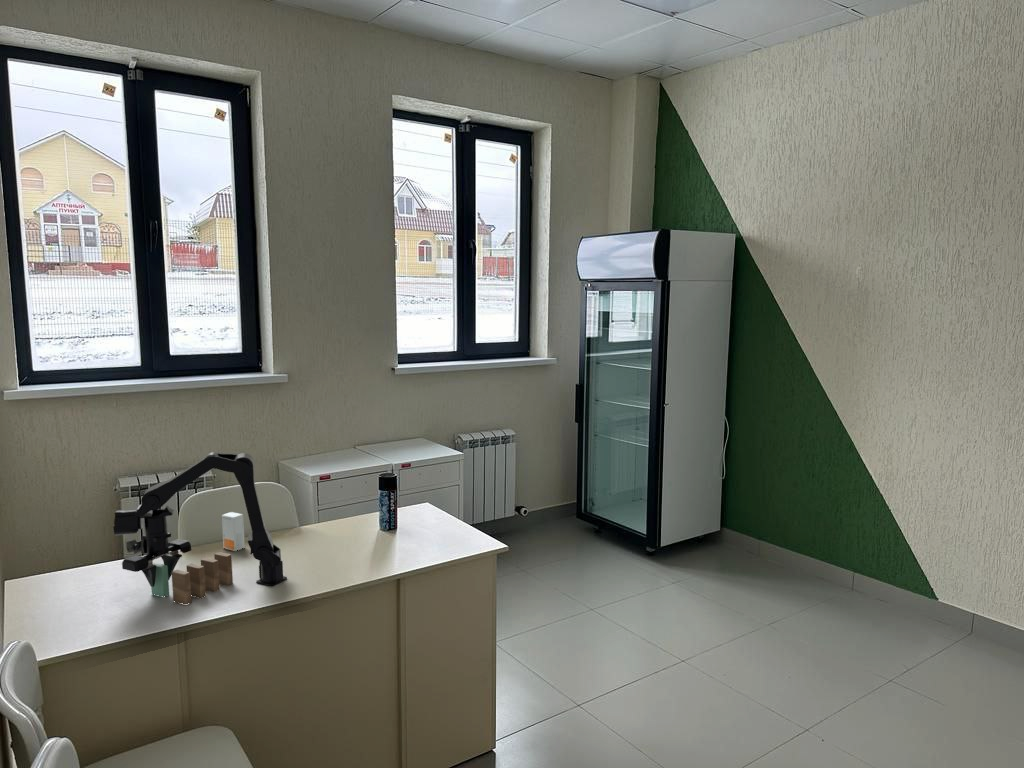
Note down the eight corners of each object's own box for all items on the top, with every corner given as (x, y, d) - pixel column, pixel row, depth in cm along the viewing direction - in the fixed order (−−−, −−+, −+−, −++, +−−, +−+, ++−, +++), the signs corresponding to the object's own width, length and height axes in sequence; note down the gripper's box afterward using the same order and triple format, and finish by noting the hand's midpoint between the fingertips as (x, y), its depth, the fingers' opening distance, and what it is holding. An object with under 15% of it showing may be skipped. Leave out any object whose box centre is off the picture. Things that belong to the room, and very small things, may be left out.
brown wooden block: (178, 599, 200) (176, 569, 199) (191, 603, 198) (189, 572, 197) (173, 602, 198) (171, 571, 197) (186, 605, 196) (184, 574, 195)
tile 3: (207, 586, 209) (205, 557, 208) (219, 589, 207) (218, 560, 206) (202, 589, 207) (200, 559, 206) (214, 591, 205) (213, 562, 204)
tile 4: (193, 593, 204) (191, 563, 203) (205, 596, 202) (204, 566, 201) (188, 595, 203) (186, 565, 202) (200, 598, 201) (199, 568, 200)
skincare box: (222, 548, 240) (220, 514, 239) (233, 544, 244) (231, 511, 242) (235, 551, 237) (233, 517, 236) (245, 547, 241) (243, 513, 239)
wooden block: (220, 580, 213) (219, 552, 212) (232, 583, 211) (231, 554, 210) (215, 582, 212) (214, 554, 211) (228, 585, 210) (226, 556, 208)
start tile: (157, 592, 205) (155, 562, 204) (169, 595, 203) (167, 565, 202) (151, 594, 203) (149, 564, 202) (164, 597, 201) (161, 567, 200)
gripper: (164, 518, 212) (168, 567, 214) (106, 537, 196) (110, 590, 198) (191, 522, 208) (194, 573, 210) (134, 543, 191) (138, 597, 193)
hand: (159, 583), depth 203 cm, fingers open, 5 cm apart
